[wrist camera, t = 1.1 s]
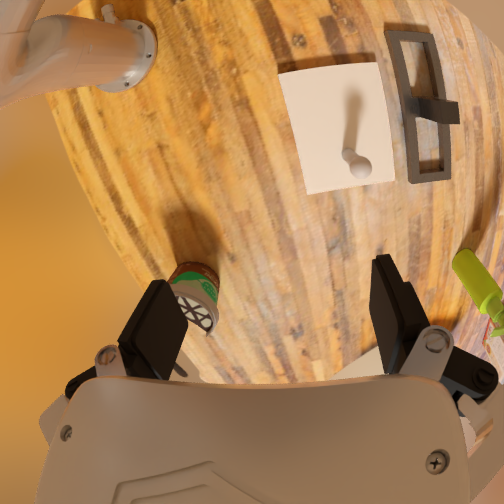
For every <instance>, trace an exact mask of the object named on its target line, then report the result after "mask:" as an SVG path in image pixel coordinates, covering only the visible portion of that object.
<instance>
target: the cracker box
mask: <svg viewBox="0 0 504 504" xmlns="http://www.w3.org/2000/svg"><path fill="white" fill-rule="evenodd" d="M495 327H501V326H500V324H499V323H498V322H496V323H494V322H493V321H492V319H491V318H490V319H489V322H488V326H487V330H486V333H485V336H484V339H483V342H482V344H483V346H484V348H485V350H486V352H487V355H488V357H489V359H490V361H491V363H492V365H493V366H494V367H495V368H496V370H497V372H498V376H499V382H500V383H501V384H502V385H503V383H504V334H503V335H501V336H497V337H490V335H491V333H492V331H493V330H494V328H495Z"/></svg>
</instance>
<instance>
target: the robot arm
mask: <svg viewBox="0 0 504 504" xmlns="http://www.w3.org/2000/svg"><path fill="white" fill-rule="evenodd" d="M44 2H45V0H0V110H1V109H3V108H4V107H6V106H8V105H10V104H12V103H14V102H17V101H19V100H22V99H24V98H27V97H31V96H35V95H39V94H43V93H48V92H53V91H59V90H64V89H70V88H77V87H84V86H92V85H95V86H96V87H97V88H99V89H101V90H102V91H105V92H113V93H115V92H122V91H125V90H128V89H130V88H132V87H134V86H135V85H137V84H138V83H139V82H140V81H142V80H143V79H144V78H145V76H146V75H147V74H148V72H149V71H150V69H151V67H152V66H153V63H154V61H155V58H156V53H157V41H156V37H155V34H154V32H153V31H152V29H151V28H150V27H149V26H148V25H146V24H145V23H143V22H140V21H137V20H129V19H127V20H121V21H119V18H118V17H115V11H114V7H113V4H107V5H105V6H103V7H102V8H101V11H102V15H103V17H104V22H103V21H100V19H99V18H97V19H88V18H83V17H77V16H71V15H64V14H60V15H59V14H57V15H51V16H47V17H44V18H41V19H39V20H37V21H35V19H36V16H37V15H38V13H39V11H40V9H41V7H42V5H43V3H44ZM34 21H35V22H34ZM141 28H142V29H141ZM150 55H151V57H150ZM369 310H370V315H371V319H372V323H373V326H374V330H375V334H376V338H377V343H378V347H379V351H380V355H381V360H382V364H383V369H384V373H385V375H375V376H366V377H358V378H349V379H340V380H329V381H318V382H305V383H288V384H209V383H191V382H178V381H168V380H169V377H170V375H171V372H172V370H173V367H174V364H175V361H176V358H177V356H178V353H179V350H180V348H181V345H182V342H183V339H184V337H185V334H186V331H187V329H188V321H187V319H186V317H185V315H184V313H183V311H182V309H181V307H180V305H179V303H178V301H177V299H176V297H175V295H174V293H173V291H172V289H171V286H170V284H169V283H168V282H166V281H165V280H164V279H161V280H153V281H152V282H151V283H150V285H149V287H148V288H147V290H146V292H145V293H144V295H143V297H142V298H141V300H140V302H139V303H138V305H137V307H136V309H135V310H134V312H133V313H132V315H131V317H130V319H129V320H128V322H127V324H126V326H125V328H124V329H123V331H122V333H121V335H120V336H119V338H118V340H117V341H118V343H119V346H118V347H117V346H116V345H107V346H105V347H103V348H102V349H101V350H100V351H99V352H98V353H97V355H96V357H95V366H93V367H91V368H90V369H88V370H86V371H85V372H83V373H81V374H80V375H78V376H76V377H75V378H73V379H72V380H70V381H69V382H68V384H67V386H66V389H65V395H63V394H62V395H61V396H60V397H59V398H58V399H57V400H55V401H54V403H52V404H51V406H49V407H48V409H46V410H45V411H44V412H43V414H42V415H41V416H40V419H39V424H40V428H41V430H42V432H43V434H44V436H45V438H46V440H47V442H48V444H49V446H50V448H49V450H48V454H47V457H46V460H45V463H44V466H43V469H42V473H41V477H40V480H39V484H38V488H37V493H36V497H35V502H34V504H470V502H471V501H472V500H473V499H474V498H475V497H476V496H477V495H478V494H479V493H480V492H481V491H482V489H484V488H485V486H486V485H487V484H488V483H489V482H490V481H491V480H492V478H493V477H494V476H495V475H496V473H497V472H498V471H499V470H500V469H501V467H502V466H503V465H504V383H503V385H502V384H501V383H500V382H499V376H498V372H497V370H496V368H495V367H494V366H493V365H492V364H490V363H488V362H486V361H484V360H482V359H480V358H478V357H476V356H474V355H472V354H470V353H468V352H466V351H464V350H462V349H460V348H458V347H455V346H453V345H454V339H453V336H452V334H451V333H450V332H449V331H448V330H447V329H446V328H444V327H441V326H430V323H429V321H428V319H427V316H426V314H425V312H424V310H423V307H422V305H421V303H420V301H419V299H418V297H417V295H416V292H415V290H414V288H413V286H412V284H411V283H410V282H409V281H408V282H403V280H402V278H401V276H400V274H399V272H398V270H397V268H396V266H395V264H394V262H393V260H392V258H391V256H390V254H384V255H377V256H376V259H373V260H372V273H371V289H370V302H369ZM388 373H389V374H388ZM459 416H461V417H467V418H468V420H470V425H471V426H472V427H473V429H474V430H475V432H476V440H475V444H474V445H473V447H472V448H471V449H470V450H469V451H468V452H467V450H466V444H465V438H464V433H463V428H462V424H461V420H460V417H459ZM428 455H429V456H428ZM437 459H438V460H437ZM439 462H440V463H439ZM437 474H438V475H437Z"/></svg>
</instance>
